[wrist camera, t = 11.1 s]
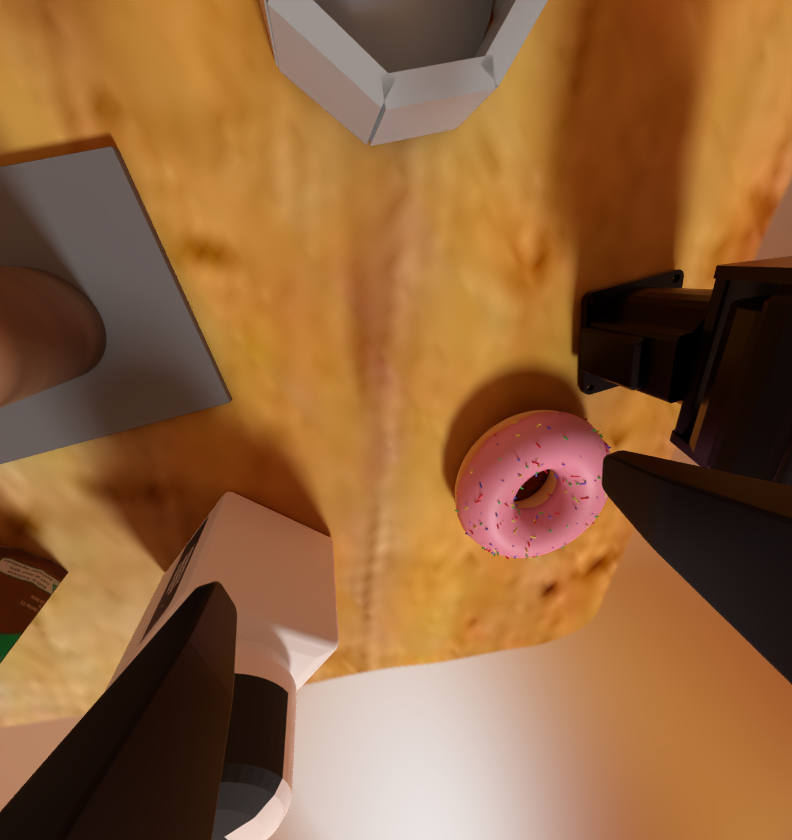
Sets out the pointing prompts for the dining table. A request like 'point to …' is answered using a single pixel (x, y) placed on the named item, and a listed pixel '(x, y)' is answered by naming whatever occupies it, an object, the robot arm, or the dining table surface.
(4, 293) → the pepper mill
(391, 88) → the bowl
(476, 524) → the doughnut
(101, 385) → the mat
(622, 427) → the dining table surface
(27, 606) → the food container
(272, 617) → the container
